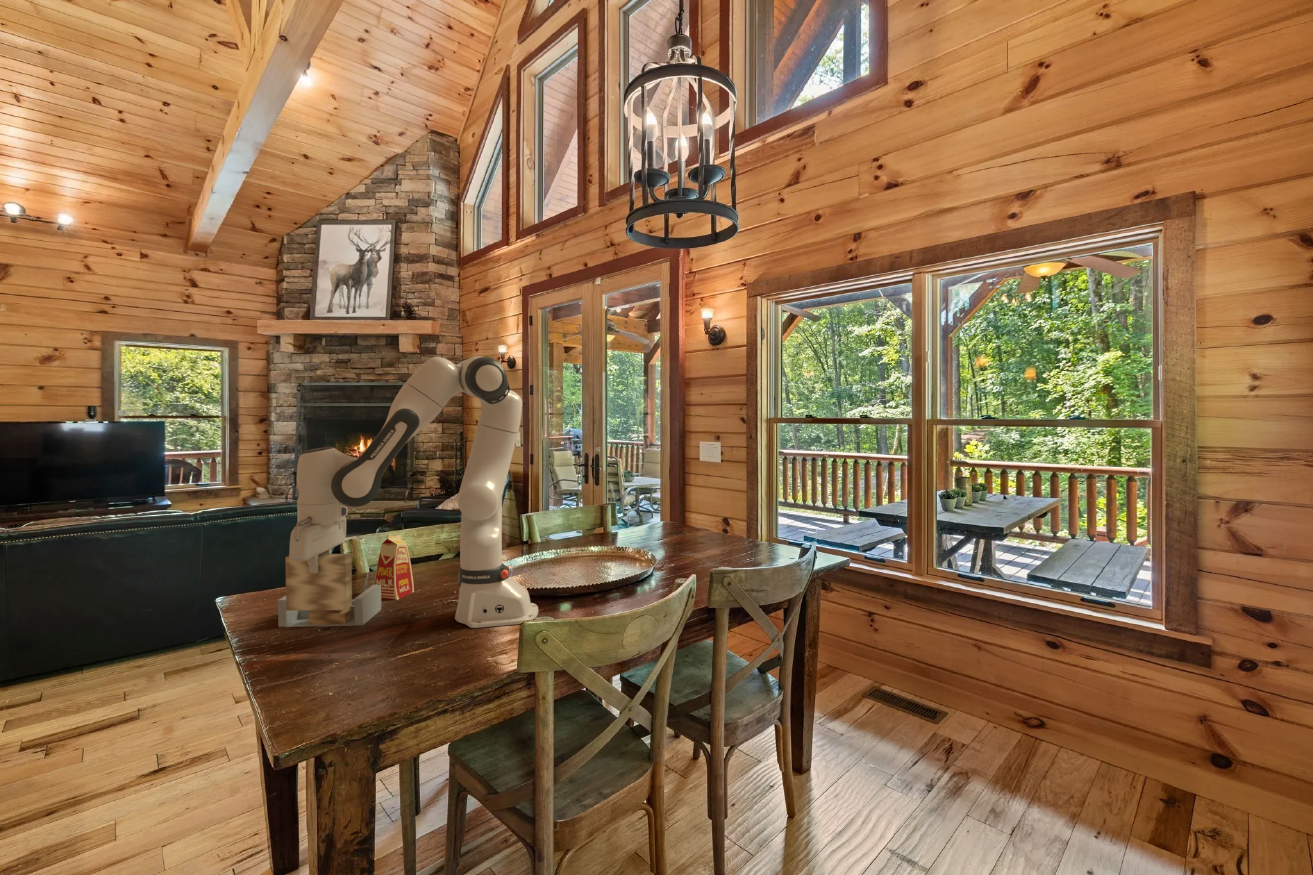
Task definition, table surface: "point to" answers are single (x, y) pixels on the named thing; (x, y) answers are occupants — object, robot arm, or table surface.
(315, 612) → the offcut
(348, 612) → the offcut
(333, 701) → the table surface
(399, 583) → the milk carton
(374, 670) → the table surface
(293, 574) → the panel
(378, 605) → the rack
